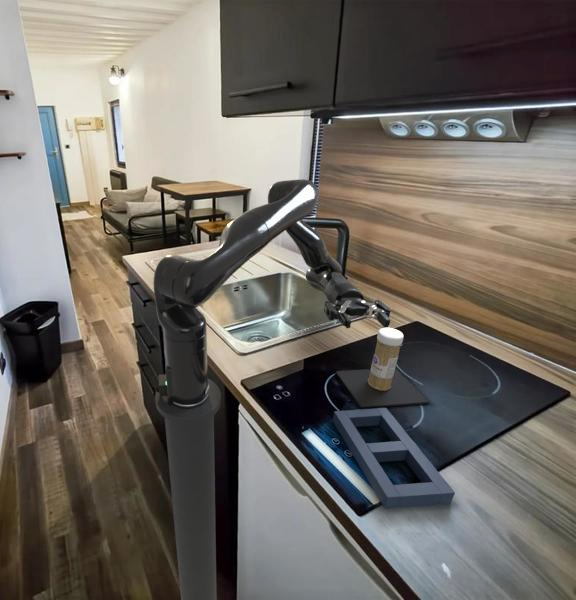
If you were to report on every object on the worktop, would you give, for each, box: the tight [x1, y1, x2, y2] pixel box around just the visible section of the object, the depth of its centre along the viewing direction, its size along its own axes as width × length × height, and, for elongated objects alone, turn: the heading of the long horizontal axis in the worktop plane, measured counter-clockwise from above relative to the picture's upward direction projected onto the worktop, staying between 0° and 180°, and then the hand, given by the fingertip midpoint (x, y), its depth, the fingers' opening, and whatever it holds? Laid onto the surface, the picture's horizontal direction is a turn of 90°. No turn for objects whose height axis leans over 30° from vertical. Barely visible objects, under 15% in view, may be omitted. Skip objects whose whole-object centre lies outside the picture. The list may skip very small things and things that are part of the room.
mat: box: [335, 367, 430, 409], centre depth 80 cm, size 14×12×1 cm
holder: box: [332, 407, 456, 509], centre depth 63 cm, size 10×18×2 cm, turn 2°
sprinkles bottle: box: [368, 327, 405, 391], centre depth 77 cm, size 5×5×13 cm
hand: (368, 324), depth 84 cm, fingers open, 8 cm apart
